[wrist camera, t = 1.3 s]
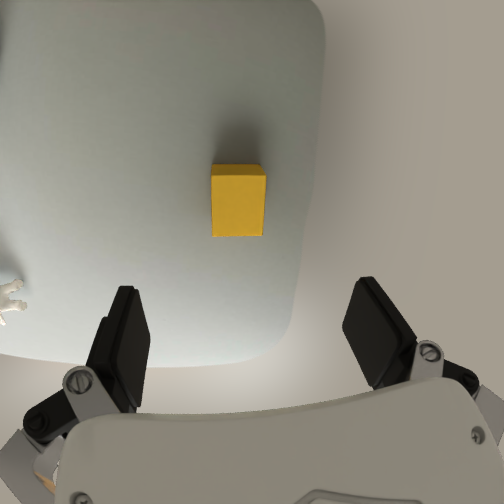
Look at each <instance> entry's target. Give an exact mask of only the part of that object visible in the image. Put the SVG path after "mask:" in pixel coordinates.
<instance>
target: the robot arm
mask: <svg viewBox="0 0 504 504" xmlns="http://www.w3.org/2000/svg"><path fill="white" fill-rule="evenodd" d="M342 329H343V332H344V334H345V336H346V338H347V340H348V342H349V344H350V346H351V349H352V350H353V353H354V355H355V357H356V359H357V361H358V363H359V365H360V367H361V370H362V372H363V374H364V376H365V378H366V380H367V382H368V385H369V386H372V388H373V389H374V390H373V391H369V392H365V393H361V394H357V395H353V396H349V397H344V398H339V399H335V400H330V401H324V402H319V403H313V404H307V405H301V406H295V407H288V408H280V409H271V410H262V411H251V412H240V413H239V412H238V413H220V414H150V413H147V414H145V413H144V414H143V413H136V410H137V407H140V406H141V401H142V393H143V386H144V379H145V371H146V365H147V359H148V353H149V347H150V333H149V329H148V326H147V322H146V318H145V315H144V311H143V307H142V303H141V299H140V295H139V291H138V289H134V287H133V286H119V288H118V291H117V293H116V296H115V298H114V301H113V303H112V306H111V309H110V311H109V314H108V317H103V318H102V320H101V322H100V325H99V328H98V330H97V333H96V336H95V339H94V341H93V344H92V347H91V350H90V353H89V356H88V359H87V362H86V366H77V367H74V368H72V369H70V370H69V371H68V372H67V373H66V374H65V376H64V378H63V383H62V385H63V389H61V390H60V391H58V392H57V393H55V394H53V395H52V396H50V397H49V398H47V399H45V400H44V401H42V402H41V403H39V404H37V405H36V406H34V407H32V408H31V409H30V410H28V411H27V413H26V414H25V416H24V419H23V427H24V428H23V429H22V430H19V429H18V430H17V431H16V432H15V434H14V435H13V436H12V437H11V438H10V439H9V440H8V442H7V443H6V444H5V445H4V447H3V448H2V449H1V450H0V477H1V479H2V480H3V481H4V482H5V484H6V485H7V486H8V488H9V489H10V490H11V491H12V493H13V494H14V495H15V496H16V497H17V499H18V500H19V501H20V502H21V503H22V504H504V462H503V459H502V456H501V454H500V451H499V449H498V444H499V442H500V439H501V437H502V434H503V432H504V401H503V400H502V399H501V398H499V397H498V396H497V395H495V394H494V393H493V392H491V391H490V390H489V389H488V388H486V387H485V386H484V385H481V386H479V380H478V377H477V376H476V374H475V373H473V372H472V371H471V370H469V369H466V368H464V367H462V366H459V365H457V364H454V363H452V362H450V361H447V360H445V359H444V353H443V351H442V349H441V348H440V346H439V345H437V344H436V343H434V342H432V341H429V340H423V341H420V342H419V343H417V341H416V339H417V337H416V335H415V334H414V332H413V331H412V329H411V328H410V326H409V325H408V323H407V322H406V321H405V319H404V318H403V316H402V315H401V313H400V312H399V311H398V309H397V308H396V307H395V305H394V304H393V302H392V301H391V300H390V298H389V297H388V296H387V294H386V293H385V292H384V290H383V289H382V288H381V286H380V285H379V284H378V282H377V281H376V280H375V279H374V277H372V276H370V277H361V278H360V279H359V281H357V282H356V284H355V286H354V290H353V293H352V296H351V300H350V303H349V306H348V309H347V312H346V315H345V318H344V321H343V324H342ZM59 460H60V461H59ZM58 461H59V465H57V462H58ZM57 467H58V472H57V479H56V486H55V485H54V482H53V473H54V471H55V469H56V468H57Z"/></svg>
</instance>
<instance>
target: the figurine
mask: <svg viewBox="0 0 504 504" xmlns="http://www.w3.org/2000/svg"><path fill="white" fill-rule="evenodd" d="M20 287H23V281H22V280H19V279H15V280H14V281H13V282H11V283H7V284H4V285H0V312H2V311H11V310H20V311H24V310H25V309H26V308H27V304H26V302H22V300H17V301H15V300H10V299H9V294H10V293H12V292H14V291H17V290H19V289H20ZM0 323H1V324H2V325H6V323H5V320H4V318H3V316H2V315H1V313H0Z"/></svg>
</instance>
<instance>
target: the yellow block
mask: <svg viewBox="0 0 504 504" xmlns="http://www.w3.org/2000/svg"><path fill="white" fill-rule="evenodd" d="M266 177H267V176H266V174H265V172H264V171H263V169H262V167H261V166H260V165H259V164H212V170H211V210H212V236H213V237H215V236H262V235H263V223H264V208H265V192H266Z"/></svg>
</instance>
